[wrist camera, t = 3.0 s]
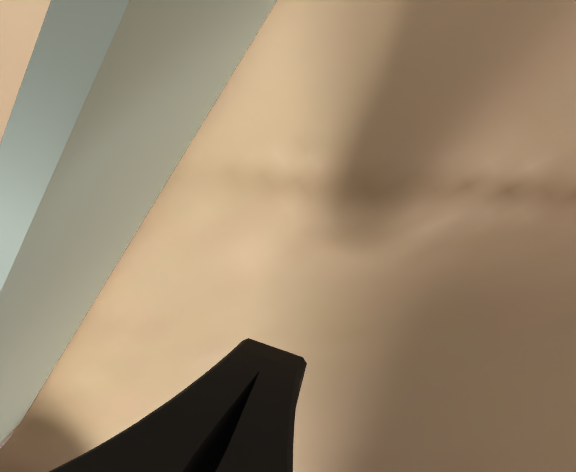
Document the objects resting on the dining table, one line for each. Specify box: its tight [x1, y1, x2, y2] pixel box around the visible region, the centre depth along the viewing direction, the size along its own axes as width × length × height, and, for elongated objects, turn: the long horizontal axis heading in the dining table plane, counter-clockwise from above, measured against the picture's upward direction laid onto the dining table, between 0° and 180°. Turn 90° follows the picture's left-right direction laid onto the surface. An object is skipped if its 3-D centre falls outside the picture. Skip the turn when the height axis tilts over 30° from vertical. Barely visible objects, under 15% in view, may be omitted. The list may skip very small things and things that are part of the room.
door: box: [0, 0, 277, 448], centre depth 13 cm, size 19×1×5 cm, turn 145°
